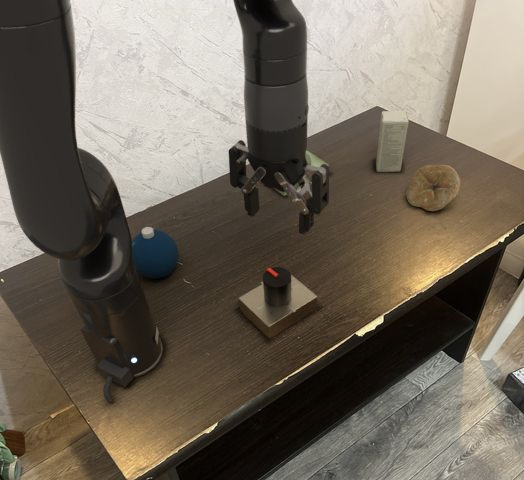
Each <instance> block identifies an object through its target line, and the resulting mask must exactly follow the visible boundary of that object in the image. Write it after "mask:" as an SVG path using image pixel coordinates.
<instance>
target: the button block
mask: <svg viewBox="0 0 524 480" xmlns="http://www.w3.org/2000/svg"><path fill="white" fill-rule="evenodd" d="M305 157H306V160H307V162H308V165H311V166H315V167H320V166H321V165H322V164H326V165H327V166H328V167H329V168H330V164H328V163H327V162H326V161H324V160H323V159H322V158H320V157H318V156H316V155H315V154H313V153H311V152H310V151H309V150H307V149H306V154H305ZM304 176H305V177H306V179H307V181H308V182H309V178H308V177H307V176H306V175H304ZM294 188H295V190H297V189H298V188H299V184H298V183H297V184H296V185H295V186H294ZM273 189H274V190H275V191H277V192H278V193H280V194H281V195H282V196H283V197H286V196H288V195H287V193H286V192H281V191H279V190H277V189H275V188H273Z"/></svg>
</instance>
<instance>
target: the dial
mask: <svg viewBox="0 0 524 480" xmlns="http://www.w3.org/2000/svg"><path fill="white" fill-rule="evenodd" d="M291 275H292V274H291V272H290V271H289V269H287V268H285V267H281V266H275V267H268V268H266V271H265V272H263V275H262V282H263V287H264V299H265V301H266V303H267V304H269V305H271V306H274V307H281V306H284V305H286V304H288V303H289V302H290V300H291Z"/></svg>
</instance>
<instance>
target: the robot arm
mask: <svg viewBox="0 0 524 480" xmlns="http://www.w3.org/2000/svg"><path fill="white" fill-rule="evenodd" d="M233 6H234V9H235V12H236V15H237V19H238V22H239V25H240V30H241V36H242V43H241V44H242V59H243V60H242V62H243V73H244V84H243V104H244V106H243V107H244V118H245V133H246V142H245V141H244V140H242V139H240V140H238V141H237V142H236V143H234V145H232V146H231V147H230V148H229V149H228V167H229V168H228V171H229V183H230V186H231V187H232V188H235V189H236V188H239V189H240V191H241V193H242V194H243V202H244V203H243V204H244V209H245V211H246V212H247V216H248V217H252V218H253V217H254V216H256V214H257V213H258V212H259V210H260V195H259V194H260V193H259V188H258V187H257V186H258V185H259V184H260V183H262V184H263V185H264V186H263V187H266V188H270V189H274V188H275V189H277V190H279V191H281V192H286V193H287V195H286V196H287V197H288V198H289V200H290V201H291V202H293V203H295V204H296V206H297V208H298V209H299V211H300V212H299V214H298V233H299V234H300V235H306V233H308V232H310V230H311V229H313V226H314V223H315V215H320V214H321V213H322V212H323V210H325V208H326V207H327V206H328V205H329V203H330V166H329V167H328V166H327V165H326V164H322V165H321V166H320V167H315V166H311V165H308V162H307V160H306V157H305V154H306V150H307V146H308V118H309V116H308V115H309V86H308V76H307V75H308V74H307V73H308V72H307V67H308V27H307V22H306V19H305V17H304V16H303V13H302V12H301V11H300V10H299V9H298V8H297V7H296V5H295V4H294V1H293V0H233ZM75 34H76V33H75V25H74V17H73V9H72V4H71V0H0V158H1V162H2V167H3V170H4V174H5V179H6V182H7V186H8V191H9V196H10V199H11V204H12V207H13V212H14V214H15V217H16V220H17V223H18V225H19V227H20V229H21V230H22V232H23V233H24V235H25V236H26V238H27V239H28V240H29V241H30V242H31V243H32V244H33V245H34V246H35V248H37V249H39V250H40V251H41V252H42V253H44V254H46V255H48V256H50V257H52V258H55V259H57V260H58V261H57V264H58V265H57V269H58V272H59V276H60V279H61V281H62V282H63V285H64V288H65V290H66V291H67V293H68V295H69V297H70V300H71V301H72V303H73V305H74V307H75V309H76V311H77V314H78V315H79V317H80V319H81V321H82V323H83V324H82V325H81V326H80V328H79V330H80V332H81V334H82V336H83V338H84V340H85V342H86V343H87V345H88V348H89V350H90V352H91V353H92V356H93V358H94V360H95V361H96V363H97V365H96V368H97V370H98V372H99V374H100V375H101V376H102V377H104V378H106V380H105V383H104V385H103V397H104V399H105V400H106V402H107V403H111V402H113V401H114V397H113V396H112V394H111V387H112V384H113V382H114V383H116V384H118V385H119V386H121V387H123V388H126V386H128V385H129V384H130V383H131V382H132V381H134V379H135V378H139V377H142V376H144V375H147V374H148V373H150V372H151V371H152V370H154V369H155V368H156V367H157V366H158V365H159V363H160V362H161V360H162V357H163V354H164V345H163V344H162V340H161V338H160V336H159V335H160V331H159V329H158V326H156V325H155V322H154V318H153V315H152V312H151V308H150V307H149V304H148V303H149V302H148V300H147V297H146V295H145V291H144V288H143V285H142V282H141V278H140V275H139V273H138V272H137V270H136V267H135V264H134V260H133V256H132V241H133V239H132V235H131V231H130V227H129V224H128V223H129V222H128V220H127V215H126V212H125V208H124V205H123V201H122V198H121V195H120V192H119V189H118V186H117V184H116V181H115V178H114V176H113V175H112V174H111V172H110V170H109V169H108V168H107V167H106V166H107V165H105V164H104V163H103V161H101V160H100V159H99V158H98V157H97V156H95V155H94V154H92V153H91V152H89V151H87V150H85V149H83V148H81V147H79V146H78V140H77V130H76V129H77V128H76V104H77V103H76V101H77V100H76V98H77V96H76V95H77V94H76V93H77V50H76V35H75ZM247 161H248V164H249V165H250V166H251V168H252V169H253V171H254V172H253V174H252V175H251V176H250V177H248V176H247ZM304 175H306V176H307V177H308V178H309V182H308V181H307V179H306V177H305V176H304ZM297 183H298V184H299V188H298V189H297V190H295V188H294V186H295V185H296V184H297ZM275 189H274V190H275ZM277 190H276V191H277Z"/></svg>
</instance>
